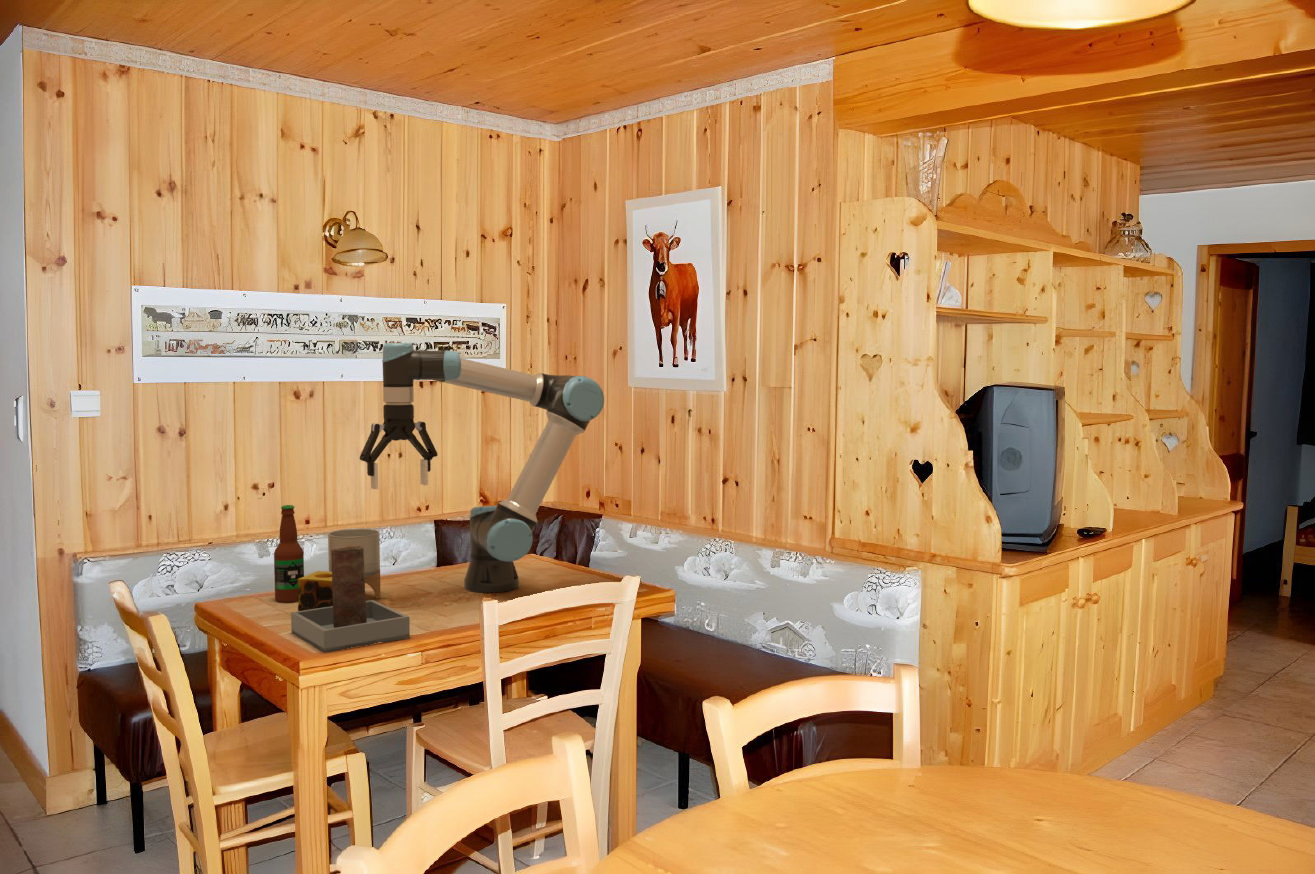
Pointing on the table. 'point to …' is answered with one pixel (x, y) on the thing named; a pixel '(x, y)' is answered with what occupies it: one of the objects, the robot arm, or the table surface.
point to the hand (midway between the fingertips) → (399, 486)
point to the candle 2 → (348, 586)
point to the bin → (350, 627)
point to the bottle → (288, 559)
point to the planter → (370, 546)
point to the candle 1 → (315, 591)
